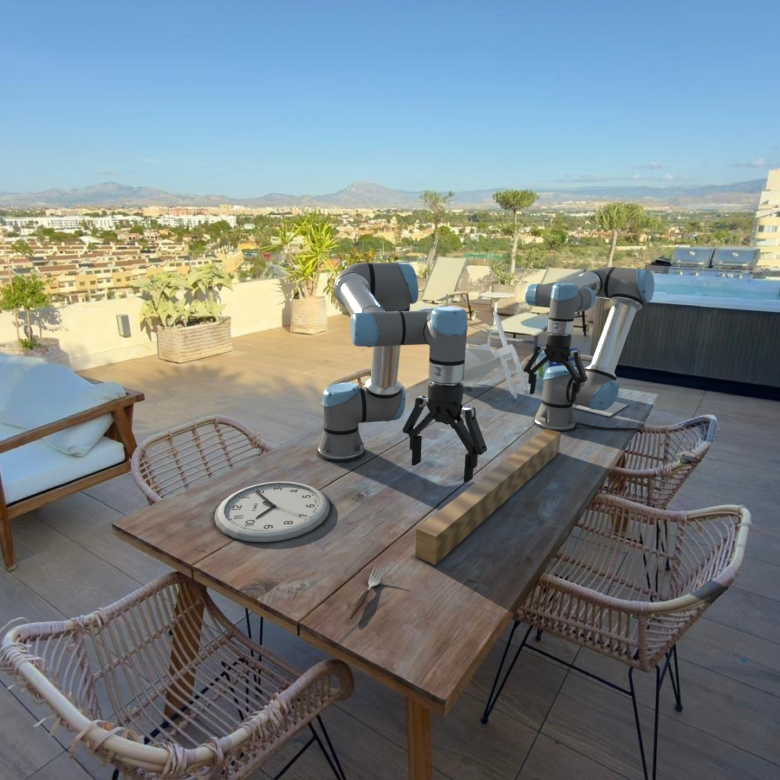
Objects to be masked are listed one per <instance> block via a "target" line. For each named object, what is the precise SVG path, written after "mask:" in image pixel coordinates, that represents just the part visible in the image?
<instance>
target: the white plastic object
mask: <svg viewBox="0 0 780 780" xmlns="http://www.w3.org/2000/svg"><path fill="white" fill-rule="evenodd" d="M492 315H493V319H494V321H495V324H496V325H495V326H496V328H497V332H498V335H499V338H500V342H501V345H502V347H500V348H498V349H496V350H495V349H493V348H492V347H491V346H490V344H489V343H488V342H487V343H483V344H479V345H473V346H469V345H468V343H466V351H465V369H464V380H463V381H462V383H463V384H467V383H468V384H469V383H473V384H477V383H480V382H482V381H484V378H485V377H486V376H487V375H489V374H490V373H492V372H494V371H495V370H496V369H497V368H499V367H500V366H502V370H503V373H504V376H505V380H506V383H507V386H508V390H509V393H510V394H511V395H512V397H513V398H514V399H515V400H517V392H516V391H517V390H516V388H515V385H514V381H513V378H512V375H511V371H510V369H509V365H508V361H510V360H513V363H514V366H515V369H516V372H517V376H518V380H519V382H520V385H521V389H522V391H523V393H524V395H525V396H526V397H528V396H531V394H530V389H529V388H528V387H529V386H528V384H527V381H526V378H525V375H524V370H523V369H522V368H523V367H522V366H521V362H520V359H519V355H518V352H517V349H516V347H515V346H514V345H513V343H511V344H508V341H507V337H506V334H505V331H504V328H503V325H502V321H501V318H500V315H499V314H498V312H497V311H496V310H495V311H492Z"/></svg>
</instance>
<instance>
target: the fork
mask: <svg viewBox="0 0 780 780" xmlns="http://www.w3.org/2000/svg"><path fill="white" fill-rule="evenodd" d="M376 565H377V564H376V563H375V564H374V567H373V569H372V571H371V574H370V576H369V578H368V581H367V583H368V587H367V588H366V590H365V591H364V592H363V594H362V595H361V596H360V597H359V598H358V600H357V603H356V605H355V607H354V608H353V611H352V613H351V616H350V618H349V620H352V619H353V617H354V616H355V615H356V614H357V612H358V611H359V609H360V608H361V607H362V606H363V604H364V603H365V602H366V600H367V598H368V594H369V592H370V590H371V588H373V587H376V586H378V585H380V584H381V581H382V578H383V575H384V571H385V567H386V566H383V568H382V565H381V566H380V568H379V564H378V565H377V568H376ZM375 568H376V570H375ZM378 570H379V571H378ZM381 570H382V571H381Z"/></svg>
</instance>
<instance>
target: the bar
mask: <svg viewBox="0 0 780 780" xmlns="http://www.w3.org/2000/svg"><path fill="white" fill-rule="evenodd" d="M561 438H562V431H554V430H549V429H543V431H541V432H540V433H538V434H537V435H536V436H535V437H533V438H532V439H530V440H529V441H528V442H527V443H525V444H524V445H523V446H522V447H520V448H519V449H518V450H516V451H515V452H513V453H512V454H511V455H510V456H508V457H507V458H506V459H505V460H503V461H501V463H499V464H498V465H497V466H495V467H494V468H493V469H492V470H491V471H489V472H487V473H486V474H485V475H484V476H483V477H481V478H480V479H478V480H477V481H476V482H475V483H473V484H472V485H471V486H470V487H468V488H467V489H465V491H463V492H462V493H461V494H459V495H458V496H456V497H455V498H454V499H453V500H451V501H450V502H449V503H447V504H446V505H445V506H444V507H442V508H441V509H440V510H438V511H437V512H436V513H434V514H433V515H432V516H430V517H429V518H428V519H426V520H425V521H424V522H423V523H421V524H420V525H419V526H417V527H416V528H415V549H414V550H415V552H414V557H416V558H417V559H420V560H422V561H425V562H427V563H428V564H430V565H434V566H436V565H437V564H438V563H439V562H440V561H441V560H442V559H444V558H445V557H446V556H447V555H448V554H449V553H450V552H452V550H453V549H454V548H456V547H457V546H458V545H459V544H460V543H461V542H462V541H463V540H464V539H465V538H466V537H468V536H469V535H470V534H471V533H472V532H473V531H475V530H476V528H477V527H479V526H480V525H481V524H482V523H483V522H484V521H485V520H486V519H488V518H489V517H490V516H491V515H492V514H493V513H494V512H495V511H497V509H499V507H501V506H502V505H503V504H504V503H505V502H506V501H507V500H508V499H510V498H511V497H512V496H513V495H514V494H515V493H516V492H517V491H518V490H519V489H520V488H522V487H523V486H524V485H526V483H527V482H528V481H530V479H531V478H533V477H534V476H535V475H536V474H537V473H538V472H539V471H540V470H542V468H543V467H545V466H546V465H547V464H548V463H549V462H550V461H551V460H552V459H553V458H554V457H556V456H557V455H558V454H559V453H560V445H561Z"/></svg>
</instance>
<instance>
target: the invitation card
mask: <svg viewBox="0 0 780 780" xmlns="http://www.w3.org/2000/svg"><path fill="white" fill-rule="evenodd" d="M628 406H629V404H627V403H623V402H618V401H614V403H613V404H612V406H611V407H609V408H608V409H607V410H604V411H601V410H596V409H591V408H588V407H584V406H580V405H575V406H574V407H573V409H575V410H581V411H584V412H587V413H593V414H596V415H600V416H604V417H608V418H609V417H611V416H613V415H614V414H616V413H617V412H619V411H621V410H623V409H624V408H626V407H628Z"/></svg>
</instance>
